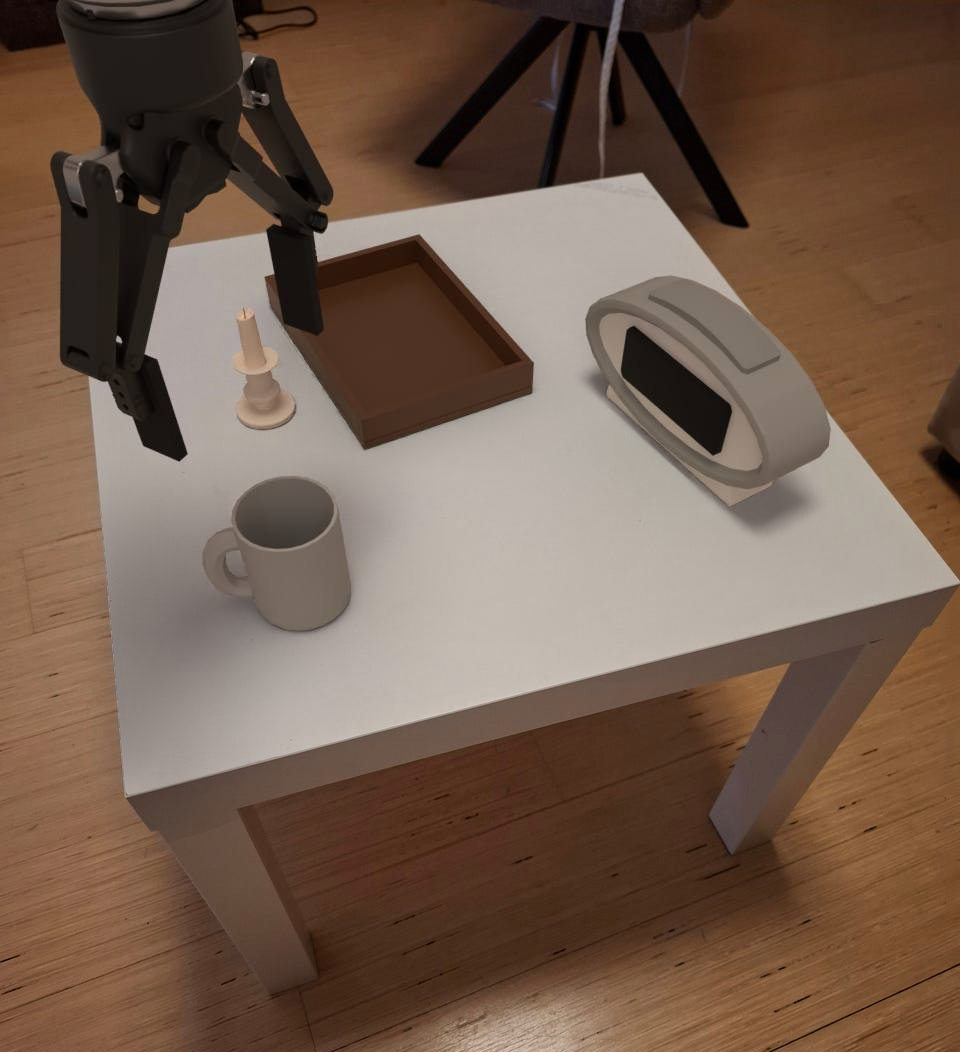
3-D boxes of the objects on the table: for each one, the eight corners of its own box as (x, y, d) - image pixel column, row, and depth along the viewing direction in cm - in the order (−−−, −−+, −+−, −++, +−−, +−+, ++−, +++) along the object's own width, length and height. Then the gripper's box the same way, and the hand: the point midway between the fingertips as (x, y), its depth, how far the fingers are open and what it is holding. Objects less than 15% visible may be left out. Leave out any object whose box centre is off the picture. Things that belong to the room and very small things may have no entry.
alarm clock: (577, 379, 87) (590, 251, 76) (630, 357, 89) (650, 229, 78) (748, 535, 75) (791, 408, 65) (805, 506, 77) (855, 378, 67)
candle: (244, 435, 82) (218, 333, 74) (231, 399, 85) (204, 297, 76) (302, 421, 83) (283, 318, 75) (287, 386, 86) (267, 283, 78)
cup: (357, 625, 69) (344, 542, 62) (220, 647, 68) (190, 566, 61) (345, 553, 74) (331, 469, 66) (216, 573, 72) (187, 489, 65)
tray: (270, 306, 93) (263, 276, 91) (421, 263, 98) (419, 233, 95) (364, 450, 81) (360, 419, 78) (532, 393, 85) (534, 362, 83)
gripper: (-18, 123, 33) (149, 536, 50) (371, -85, 46) (398, 299, 63) (-162, 76, 35) (45, 487, 52) (248, -110, 48) (307, 268, 65)
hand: (239, 385), depth 58 cm, fingers open, 13 cm apart
